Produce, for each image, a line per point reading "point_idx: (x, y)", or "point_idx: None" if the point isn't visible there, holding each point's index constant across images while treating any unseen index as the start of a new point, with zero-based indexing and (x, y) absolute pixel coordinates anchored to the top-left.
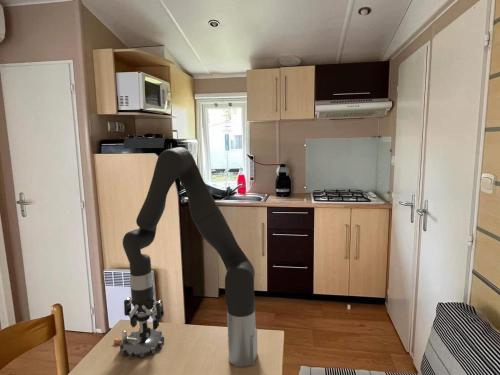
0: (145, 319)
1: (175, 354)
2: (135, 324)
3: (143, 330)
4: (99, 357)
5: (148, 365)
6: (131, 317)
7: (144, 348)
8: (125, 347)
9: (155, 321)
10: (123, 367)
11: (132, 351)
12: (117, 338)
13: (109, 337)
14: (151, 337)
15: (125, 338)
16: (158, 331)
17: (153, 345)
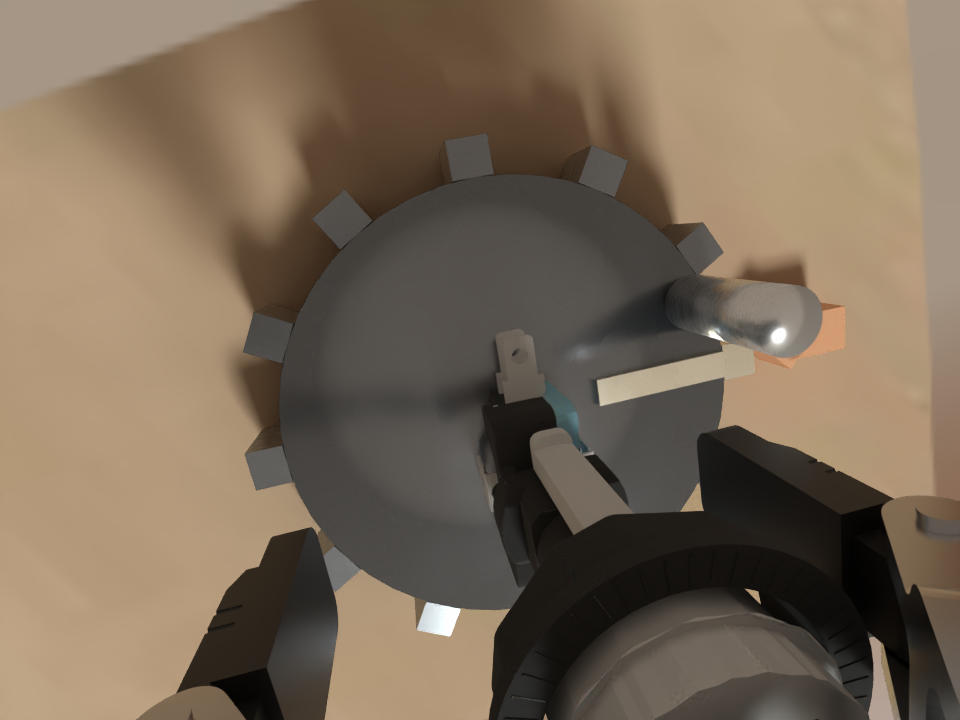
0: (519, 623)
1: (33, 424)
2: (713, 493)
3: (535, 481)
4: (803, 60)
5: (183, 146)
6: (885, 511)
7: (364, 289)
8: (609, 214)
9: (219, 678)
10: (436, 11)
11: (468, 182)
12: (820, 338)
13: (912, 357)
14: (445, 492)
15: (700, 294)
16: (448, 610)
17: (298, 382)
